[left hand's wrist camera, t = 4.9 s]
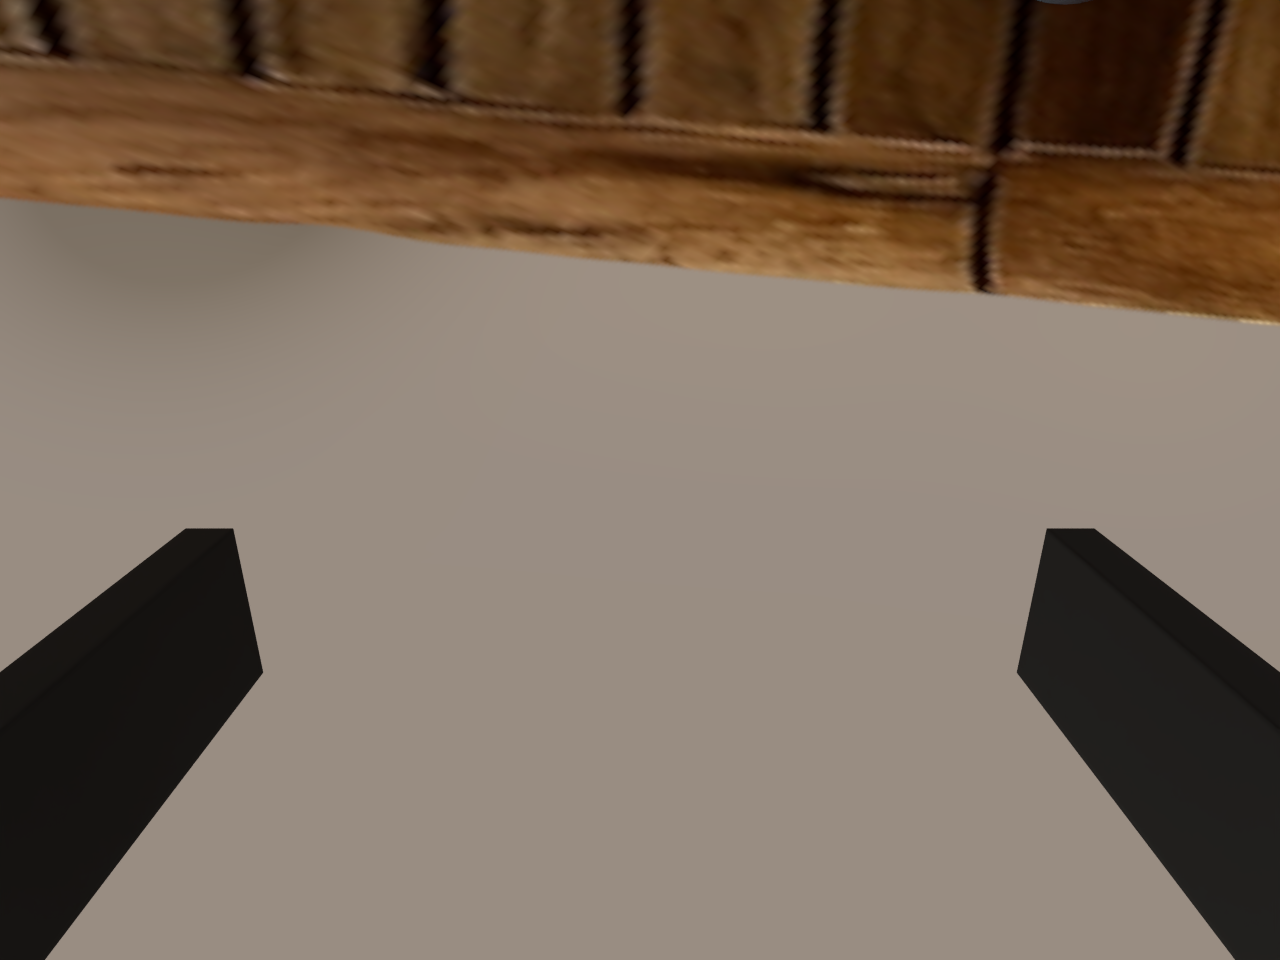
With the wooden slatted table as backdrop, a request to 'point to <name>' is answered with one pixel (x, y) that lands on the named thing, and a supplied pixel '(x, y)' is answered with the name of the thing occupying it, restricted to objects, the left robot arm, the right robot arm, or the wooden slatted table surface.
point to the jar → (1064, 1)
